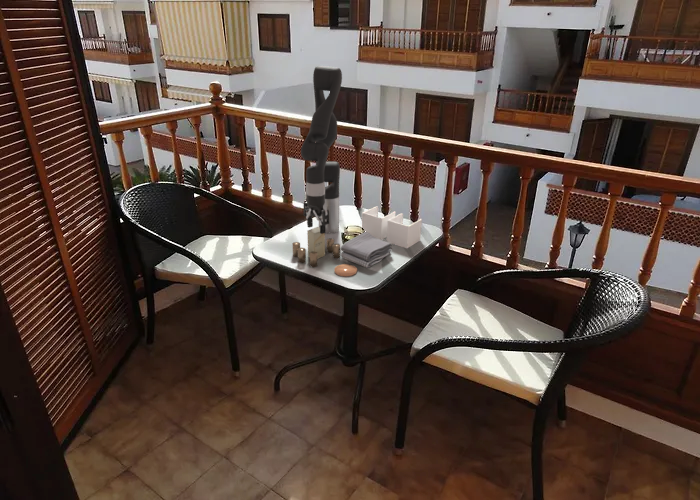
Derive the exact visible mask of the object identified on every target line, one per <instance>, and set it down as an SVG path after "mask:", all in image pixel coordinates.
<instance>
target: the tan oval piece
mask: <svg viewBox="0 0 700 500" xmlns="http://www.w3.org/2000/svg"><path fill="white" fill-rule="evenodd" d="M357 272H358V268H357V267H356V266H355V265H353V264H349V263H342V264H338V265H337V266H335V267H334V274H336V275H337V276H340V277H351V276H354V275H356V274H357Z"/></svg>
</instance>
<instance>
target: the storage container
mask: <svg viewBox="0 0 700 500" xmlns="http://www.w3.org/2000/svg"><path fill="white" fill-rule="evenodd" d="M403 222H404V213H399V214H396V211H392V212H391V213H389V214H387V215H385V216H383V217H379V206H374V207H372V208H370V209H368V210H365V211H362V212H361V229H362V228H363V229H364V230H365V231H366V232H368V233H370V234H371V235H372V236H373V237H374V238H376V239H380V240H384V239H386V240H385V241H386V242H389V243H391V245H394V244H395V246H398V247H401V248H404V249H409V248H410V247H412V246H413V245H415V244H417V243H419V242H420V241H421V238H422V237H421V235H422V222H423V219H422V218H419V220H417V221H415V222H413V223H411V224H410V225H406V224H403Z"/></svg>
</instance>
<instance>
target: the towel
mask: <svg viewBox="0 0 700 500" xmlns="http://www.w3.org/2000/svg"><path fill="white" fill-rule="evenodd" d="M386 241H387V240H384V239H382V240H380V239H376V238H374V237H373V236H372V235H371V234H370V233H368V232H364V233H362V232H361V233H360V234H359V235H357V236H355V237H352V238H350V239H349V240H348V241H345V242H344V243H343V244H342V246H340V251H342V252H340V258H343V259H344V260H347V261H348V262H352V263H354V264H356V265H359V266H362V267H364V268H367V269H368V268H371V267H373V266H374V265H375V264H378V263H379V262H382V260H383V259H384V258H385V257H387V256H389V255H391V251H392V248H393V247H392V244H391V243H389V242H386Z"/></svg>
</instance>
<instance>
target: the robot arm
mask: <svg viewBox="0 0 700 500" xmlns="http://www.w3.org/2000/svg"><path fill="white" fill-rule="evenodd" d="M312 79H313V80H312V83H313V91H314V93H313V94H314V107H315V108H314V109H315V110H314V113H313V115H312V118H311V122H310V127H309V131H308V133H307V136H306V137H305V140H304V141H303V142H302V145H301V149H300V155H301V158H302V159H303V160H305V161H312V162H315V165H310V166H308V167H307V168H306V171H305V172H306V176H305V177H306V183H305V184H306V186H305V191H306V192H305V194H306V195H305V197H306V201H305V202H303V210H302V211H303V216H304V217H305V218H306V224H307V228H313V227H314V225H313V224H314V222H313V221H314V220H313V217H314V218H316V220H317V222H318V227H320V233H321V234H323V233H325V234H327V235H328V234H329V235H330V234H336V233H338V232H339V231H340V178H341V177H340V176H341V174H340V173H341V168H340V163H339V162H338V161H327V160H328V157H329V150H330V148H331V146H332V145H333V144H334V142H335V141H336V138H337V135H338V119H337V118H336V115H335V114H334V108H335V106H336V102H337V101H338V100H337V99H338V96H339V93H340V90H341V87H342V82H343V81H342V80H343V72H342V70H341V68H339V67H336V66H328V65H327V66H325V65H316V66H315V68H314V70H313V77H312ZM324 91H326V92H329V93H328V96H325V93H324ZM325 183H330V184H329V185H326V184H325ZM325 185H326V186H325Z"/></svg>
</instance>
